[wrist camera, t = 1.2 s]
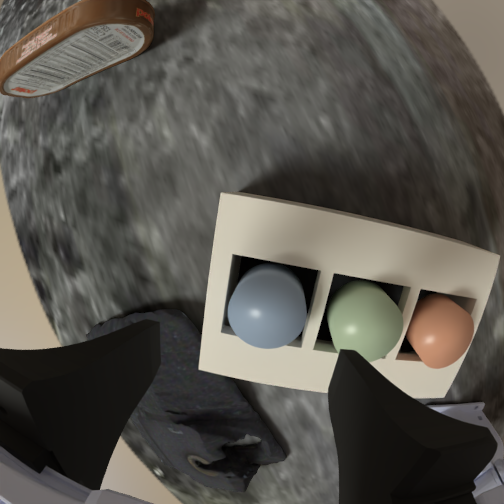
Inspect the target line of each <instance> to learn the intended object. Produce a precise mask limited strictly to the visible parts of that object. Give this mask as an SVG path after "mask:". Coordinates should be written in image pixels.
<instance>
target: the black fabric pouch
mask: <svg viewBox="0 0 504 504" xmlns="http://www.w3.org/2000/svg"><path fill="white" fill-rule="evenodd" d="M145 319H149V320H153V321H158V322H160V347H161V364H160V367H159V369H158V371H157V374H156V376H155V378H154V380H153V382H152V384H151V385H150V387H149V388H148V390H147V391H146V393H145V395H144V396H143V398H142V399H141V401H140V402H139V404H138V405H137V407H136V408H135V410H134V411H133V413H132V415H131V416H130V417H131V418H132V421H133V424H134V425H135V426H136V427H137V429H138V430H139V431H140V433H141V435H142V437H143V438H144V439H145V441H146V442H147V443H148V444H149V446H150V447H151V448H152V450H153V451H154V452H155V453H156V454H157V456H158V457H159V458H160V459H161V461H162V462H163V463H164V464H165V465H167V466H169V467H170V468H174V469H178V470H180V471H181V472H183V473H185V474H187V475H189V476H190V477H191V478H192V479H193V480H195V481H197V482H199V483H201V484H203V485H204V486H206V487H210V488H220V489H226V490H231V491H233V492H245V491H246V489H247V487H248V485H249V483H250V481H251V479H252V478H253V476H254V475H255V474H256V473H257V470H258V468H259V467H260V465H259V464H263V465H268V464H270V463H277V462H279V461H284V460H285V458H286V454H285V453H283V450H282V448H281V446H279V445H278V444H277V442H276V440H275V439H274V438H273V436H272V434H271V433H270V431H269V430H268V428H267V426H266V425H265V423H264V422H263V421H262V420H260V416H259V415H258V414H257V412H255V411H253V407H252V406H251V405H250V404H249V403H248V401H247V400H246V399H245V398H244V397H243V396H242V394H241V392H240V390H239V389H238V387H237V386H236V384H235V382H234V381H232V380H231V379H230V377H228V376H224V375H219V374H215V373H211V372H207V371H203V370H199V359H200V350H201V340H202V337H201V335H200V333H199V331H198V329H197V328H196V327H195V325H194V324H193V323H192V322H191V321H190V320H189V319H188V317H187V316H186V315H185V314H184V313H183V312H181V311H180V310H177V309H161V310H157V311H154V312H147V313H134V314H130V315H128V316H126V317H124V318H116V319H111V320H108V321H106V322H104V324H103V325H101V324H98V325H95V327H93V328H92V329H91V331H90V333H89V334H88V335H86V337H87V340H88V341H89V340H92V339H95V338H97V337H100V336H103V335H106V334H109V333H111V332H114V331H116V330H119V329H121V328H124V327H126V326H129V325H131V324H134V323H136V322H139V321H141V320H145ZM246 434H249V435H250V436H256V437H258V438H260V439H261V441H260V442H259V443H257V444H252V445H247V446H240V445H236V446H233V447H232V448H230V447H222V446H223V445H224V444H225V443H227V442H228V443H230V442H231V443H235V442H237V441H238V440H239V439H244V438H245V435H246Z"/></svg>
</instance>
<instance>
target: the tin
mask: <svg viewBox="0 0 504 504" xmlns="http://www.w3.org/2000/svg"><path fill="white" fill-rule="evenodd" d="M154 17H155V12H154V9H153V7H152V5H151V4H150V3H149V2H147V1H146V0H81V1H79V2H77V3H75V4H73V5H71V6H70V7H68V8H66V9H65V10H63V11H61V12H60V13H58V14H57V15H55V16H53V17H52V18H50V19H49V20H47V21H46V22H44V23H43V24H41V25H40V26H39V27H37V28H36V29H34V30H33V31H31V32H30V33H29V34H27V35H26V36H24V37H23V38H22V39H20V40H19V41H18V42H17V43H15V44H14V45H13V46H11V47H10V48H9V49H8V50H7V51H6V52H5V53H4V54H3V55H2V57H1V59H0V92H1V93H2V94H3V95H8V96H13V97H23V98H35V97H40V96H45V95H48V94H52V93H55V92H58V91H60V90H62V89H65V88H66V87H68V86H71V85H73V84H75V83H77V82H79V81H81V80H83V79H85V78H87V77H89V76H92V75H94V74H96V73H98V72H101V71H103V70H105V69H108V68H110V67H113V66H115V65H117V64H120V63H122V62H125V61H127V60H130V59H132V58H134V57H136V56H138V55H139V54H141V53H142V52H144V51H145V50H146V49H147V48H148V47H149V46H150V44H151V42H152V40H153V36H154Z"/></svg>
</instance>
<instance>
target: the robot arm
mask: <svg viewBox="0 0 504 504" xmlns="http://www.w3.org/2000/svg"><path fill="white" fill-rule="evenodd" d="M160 364H161V347H160V322H158V321H153V320H149V319H145V320H141V321H139V322H136V323H134V324H131V325H129V326H126V327H124V328H121V329H119V330H116V331H114V332H111V333H109V334H106V335H103V336H100V337H97V338H95V339H92V340H89V341H85V342H82V343H78V344H73V345H69V346H64V347H57V348H49V349H39V350H13V349H2V348H0V504H153V503H150V502H146V501H144V500H141V499H138V498H135V497H132V496H130V495H126V494H123V493H119V492H116V491H112V490H109V489H106V490H100V487H101V484H102V480H103V478H104V475H105V472H106V469H107V466H108V464H109V461H110V458H111V456H112V453H113V451H114V449H115V446H116V444H117V442H118V439H119V437H120V435H121V433H122V431H123V429H124V427H125V425H126V423H127V421H128V419H129V418H130V416H131V415H132V413H133V411H134V410H135V408H136V407H137V405H138V404H139V402H140V401H141V399H142V398H143V396H144V395H145V393H146V391H147V390H148V388H149V387H150V385H151V384H152V382H153V380H154V378H155V376H156V374H157V371H158V369H159V367H160ZM328 402H329V412H330V417H331V422H332V427H333V432H334V437H335V443H336V448H337V454H338V463H339V504H504V459H503V455H504V447H503V443H502V440H501V438H500V437H499V435H498V434H497V432H496V431H495V429H494V428H493V426H492V425H491V423H490V422H489V420H488V419H487V417H486V416H485V414H484V413H483V412H482V409H483V408H484V406H485V403H484V402H476V403H464V404H449V405H427V406H426V405H424V404H422V403H420V402H419V401H417V400H415V399H414V398H412V397H411V396H409V395H408V394H406V393H405V392H403V391H402V390H401V389H399V388H398V387H397V386H395V385H394V384H393V383H392V382H390V381H389V380H388V379H387V378H386V377H385V376H383V375H382V374H381V373H380V372H379V371H378V370H377V369H376V368H374V367H373V366H372V365H371V364H370V363H369V362H368V361H367V360H366V359H365V358H364V357H363V356H361V355H360V354H359V353H358V352H357V351H355V350H348V349H340V352H339V355H338V358H337V362H336V365H335V368H334V371H333V375H332V378H331V381H330V384H329V387H328Z"/></svg>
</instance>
